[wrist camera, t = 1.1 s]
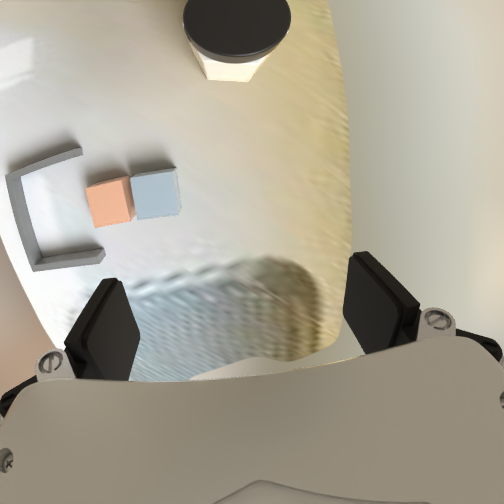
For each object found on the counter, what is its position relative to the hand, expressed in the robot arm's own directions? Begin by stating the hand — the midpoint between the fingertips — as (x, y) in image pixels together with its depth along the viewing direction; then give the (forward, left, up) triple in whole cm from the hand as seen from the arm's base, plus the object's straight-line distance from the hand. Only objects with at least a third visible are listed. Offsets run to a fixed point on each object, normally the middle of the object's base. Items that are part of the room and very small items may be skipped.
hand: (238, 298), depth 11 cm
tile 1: (0, -8, -24) cm, 25 cm away
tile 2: (0, -14, -24) cm, 28 cm away
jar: (-16, +2, -24) cm, 28 cm away
